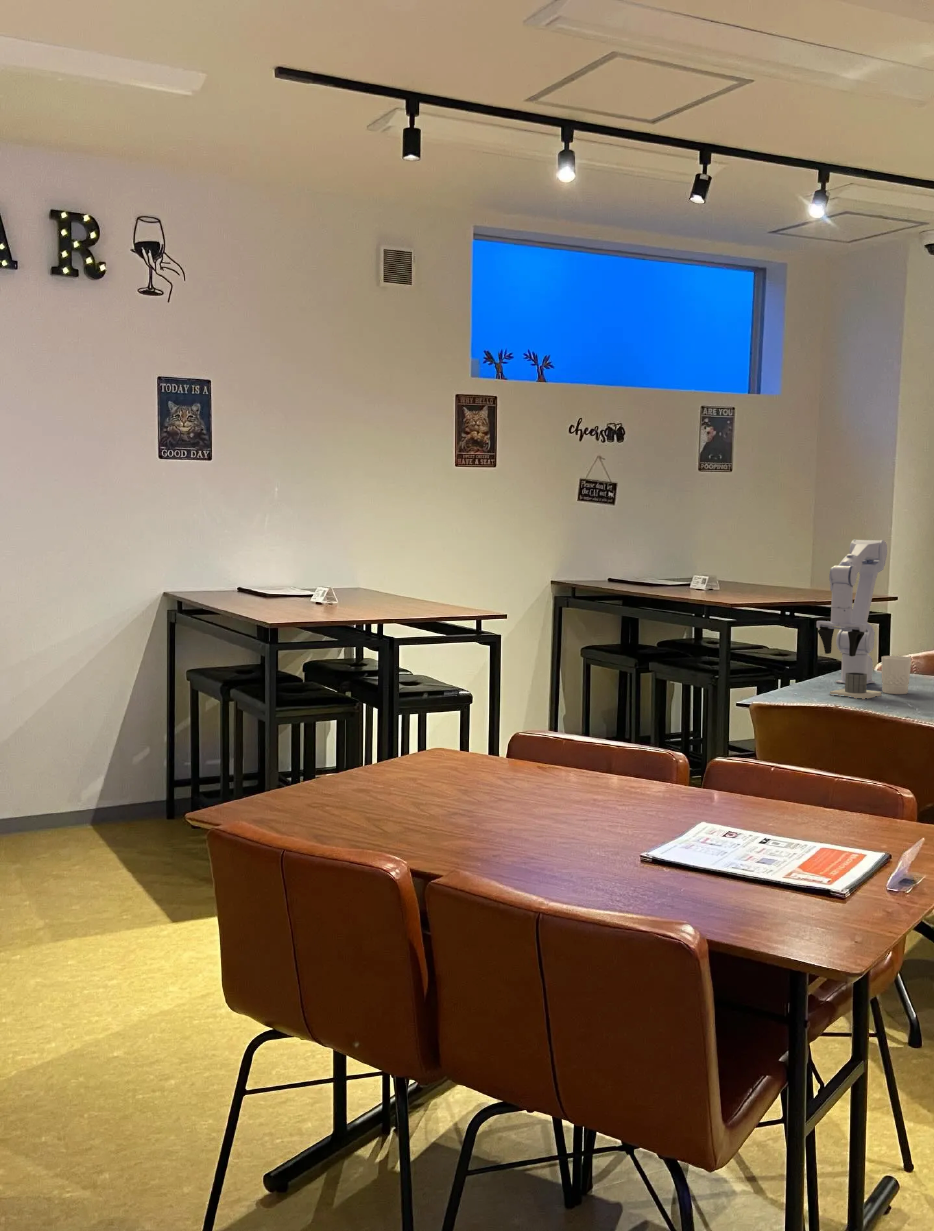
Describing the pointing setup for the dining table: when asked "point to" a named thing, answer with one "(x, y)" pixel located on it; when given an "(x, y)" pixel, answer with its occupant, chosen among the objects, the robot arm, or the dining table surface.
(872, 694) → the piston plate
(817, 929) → the dining table surface
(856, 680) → the ring
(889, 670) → the white cup
